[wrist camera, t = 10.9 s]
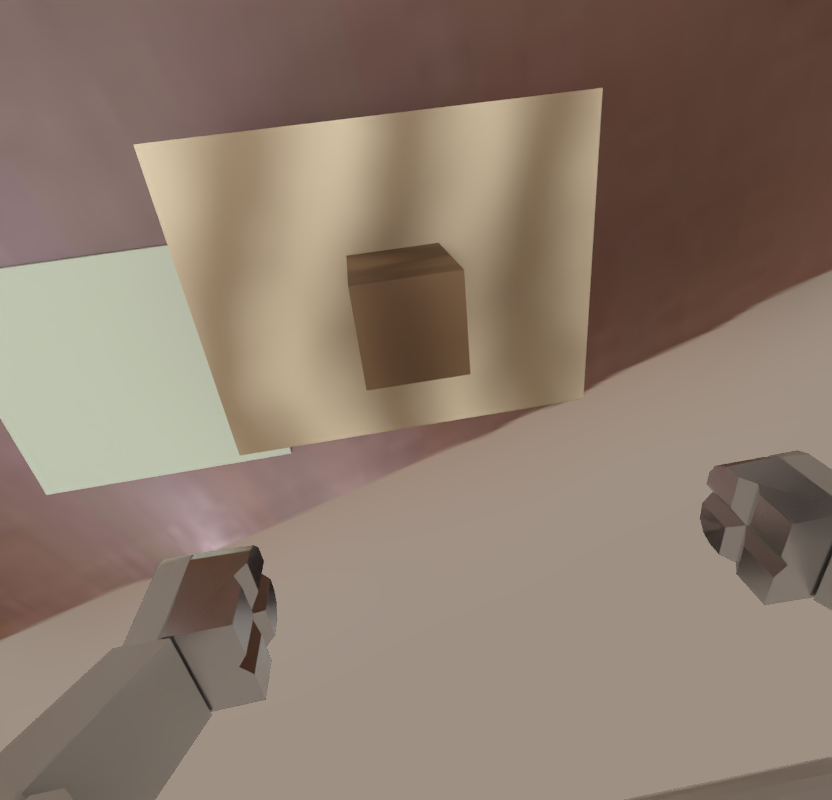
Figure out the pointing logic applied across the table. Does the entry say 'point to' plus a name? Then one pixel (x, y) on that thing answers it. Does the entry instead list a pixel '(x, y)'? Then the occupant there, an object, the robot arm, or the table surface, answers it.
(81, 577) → the table surface
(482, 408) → the lid
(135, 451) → the mat
